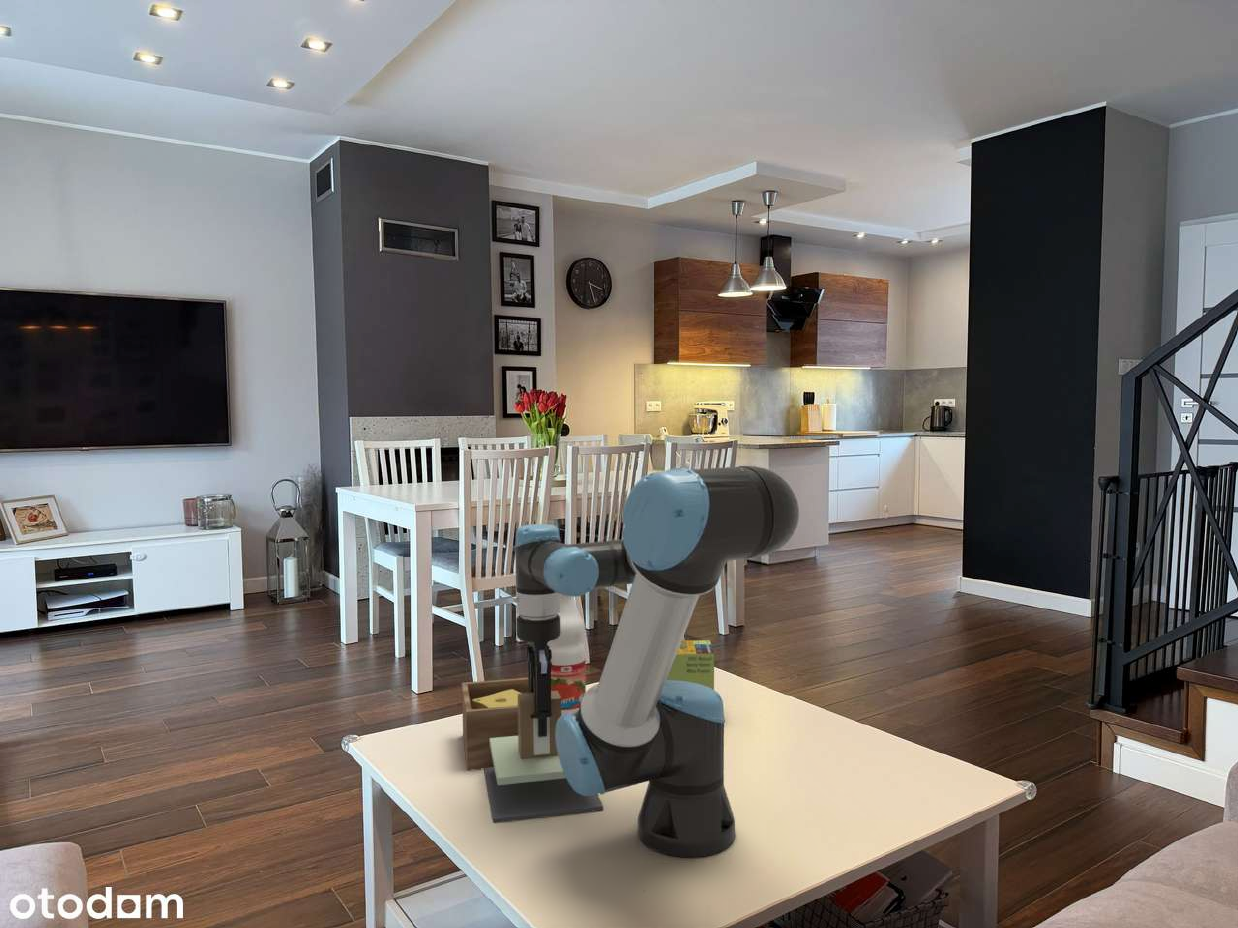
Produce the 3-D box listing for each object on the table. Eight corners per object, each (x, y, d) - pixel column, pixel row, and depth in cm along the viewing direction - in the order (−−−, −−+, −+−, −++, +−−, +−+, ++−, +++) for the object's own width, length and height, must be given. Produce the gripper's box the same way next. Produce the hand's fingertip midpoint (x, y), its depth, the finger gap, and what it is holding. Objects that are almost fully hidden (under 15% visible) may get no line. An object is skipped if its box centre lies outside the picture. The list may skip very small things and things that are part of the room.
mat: (603, 809, 140) (603, 806, 140) (493, 822, 136) (493, 818, 136) (581, 761, 160) (581, 758, 160) (484, 770, 156) (484, 767, 156)
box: (553, 761, 160) (553, 704, 159) (467, 770, 156) (466, 711, 155) (541, 728, 176) (540, 676, 175) (463, 735, 173) (462, 682, 172)
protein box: (715, 726, 177) (715, 653, 176) (640, 726, 177) (640, 653, 176) (710, 708, 187) (710, 639, 186) (640, 708, 187) (640, 639, 186)
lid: (594, 774, 141) (594, 709, 140) (497, 785, 138) (496, 717, 137) (576, 736, 158) (576, 677, 157) (489, 744, 154) (488, 683, 153)
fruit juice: (585, 705, 190) (584, 581, 188) (586, 720, 180) (585, 590, 179) (542, 706, 189) (541, 582, 187) (542, 722, 180) (540, 591, 178)
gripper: (511, 604, 153) (513, 731, 155) (522, 628, 137) (524, 770, 138) (552, 602, 155) (553, 727, 157) (568, 625, 139) (569, 765, 140)
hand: (539, 747), depth 148 cm, fingers closed on lid, 4 cm apart
